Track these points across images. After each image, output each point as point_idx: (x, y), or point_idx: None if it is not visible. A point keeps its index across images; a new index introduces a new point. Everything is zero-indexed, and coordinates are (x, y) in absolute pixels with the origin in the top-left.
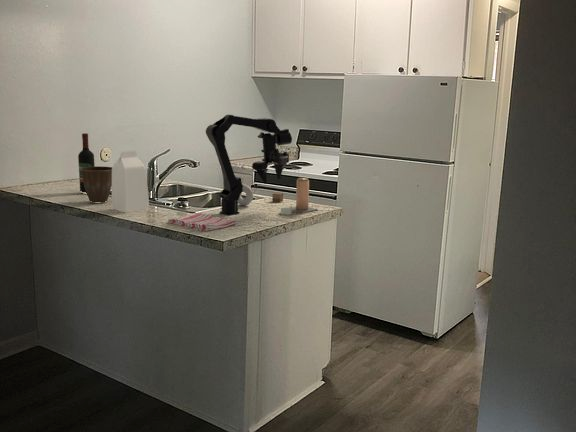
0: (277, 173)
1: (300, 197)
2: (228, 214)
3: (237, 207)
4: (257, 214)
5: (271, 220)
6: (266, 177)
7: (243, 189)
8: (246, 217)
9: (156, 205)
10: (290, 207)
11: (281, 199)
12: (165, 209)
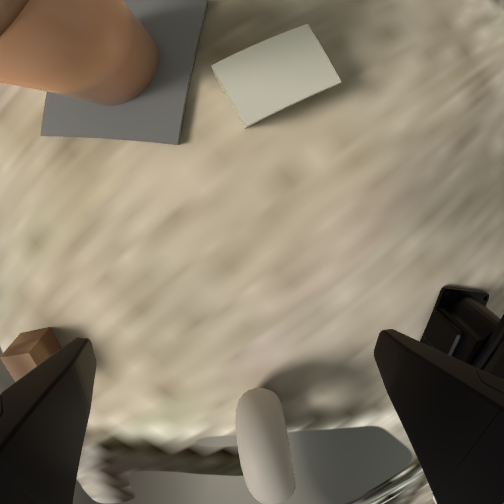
0: (72, 434)
1: (131, 15)
2: (487, 293)
3: (447, 318)
4: (417, 201)
5: (471, 61)
6: (442, 368)
7: (291, 466)
8: (488, 201)
9: (413, 493)
10: (275, 36)
11: (30, 336)
12: None
